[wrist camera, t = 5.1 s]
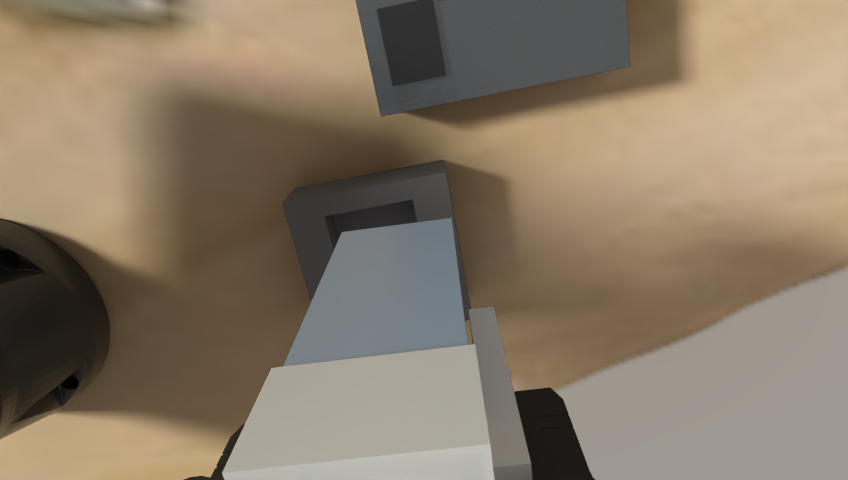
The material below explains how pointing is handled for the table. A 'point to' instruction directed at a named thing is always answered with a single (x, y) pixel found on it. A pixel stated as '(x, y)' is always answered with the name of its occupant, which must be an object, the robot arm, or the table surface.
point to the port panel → (485, 46)
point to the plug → (375, 372)
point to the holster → (367, 213)
